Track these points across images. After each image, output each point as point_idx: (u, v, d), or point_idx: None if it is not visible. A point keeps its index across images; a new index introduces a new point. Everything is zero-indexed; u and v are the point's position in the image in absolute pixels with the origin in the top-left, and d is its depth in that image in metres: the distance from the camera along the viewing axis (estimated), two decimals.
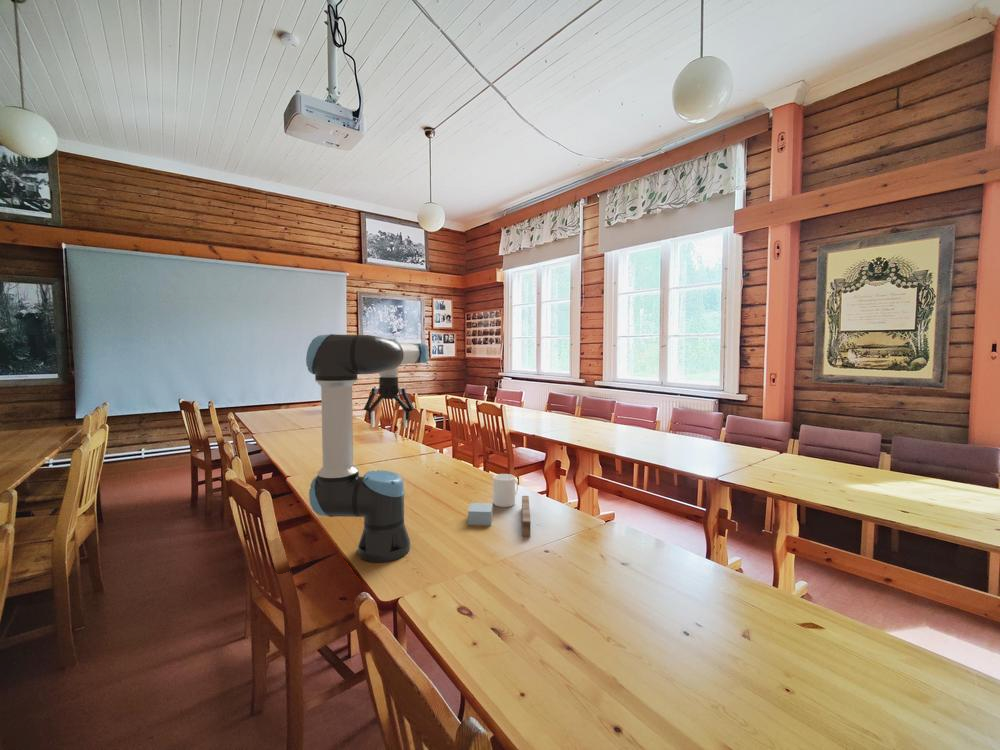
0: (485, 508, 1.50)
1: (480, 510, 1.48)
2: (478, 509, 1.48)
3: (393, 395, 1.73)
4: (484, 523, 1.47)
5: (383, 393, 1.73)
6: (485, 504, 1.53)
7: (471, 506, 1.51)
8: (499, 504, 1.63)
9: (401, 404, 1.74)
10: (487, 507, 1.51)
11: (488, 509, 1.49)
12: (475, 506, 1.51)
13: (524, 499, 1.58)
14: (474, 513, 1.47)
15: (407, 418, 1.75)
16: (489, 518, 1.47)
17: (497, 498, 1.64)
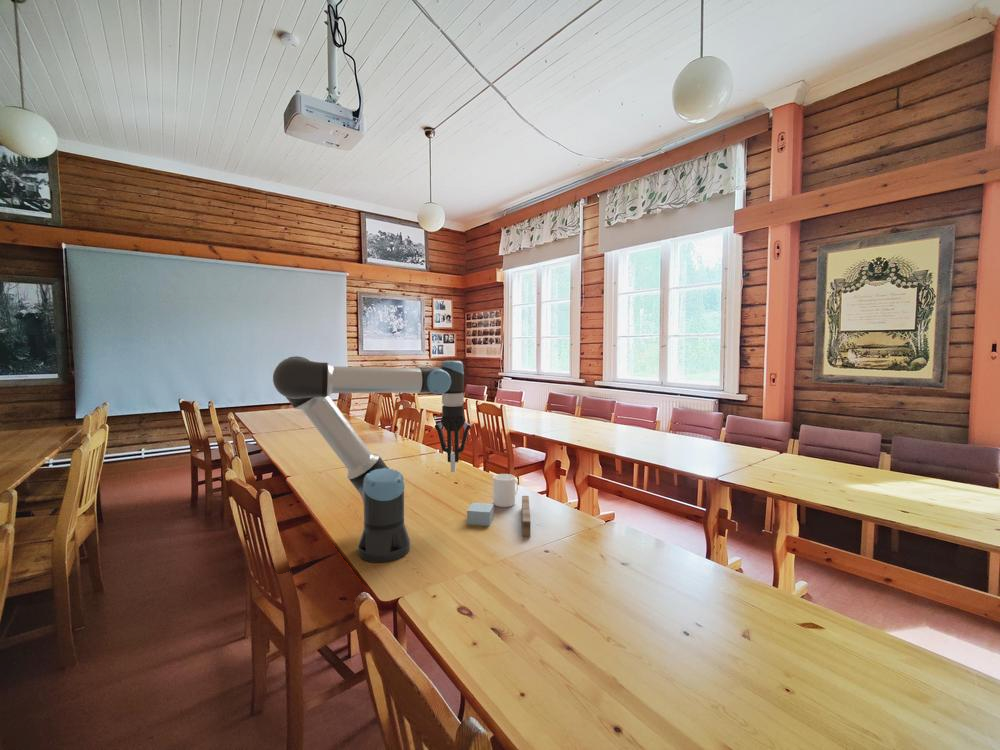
0: (485, 508, 1.49)
1: (479, 510, 1.48)
2: (478, 509, 1.48)
3: (456, 428, 1.48)
4: (483, 523, 1.47)
5: (448, 425, 1.47)
6: (486, 504, 1.53)
7: (471, 506, 1.52)
8: (499, 504, 1.63)
9: (456, 442, 1.48)
10: (487, 507, 1.50)
11: (487, 509, 1.48)
12: (475, 506, 1.51)
13: (524, 499, 1.58)
14: (473, 512, 1.47)
15: (456, 460, 1.49)
16: (488, 518, 1.46)
17: (497, 498, 1.64)
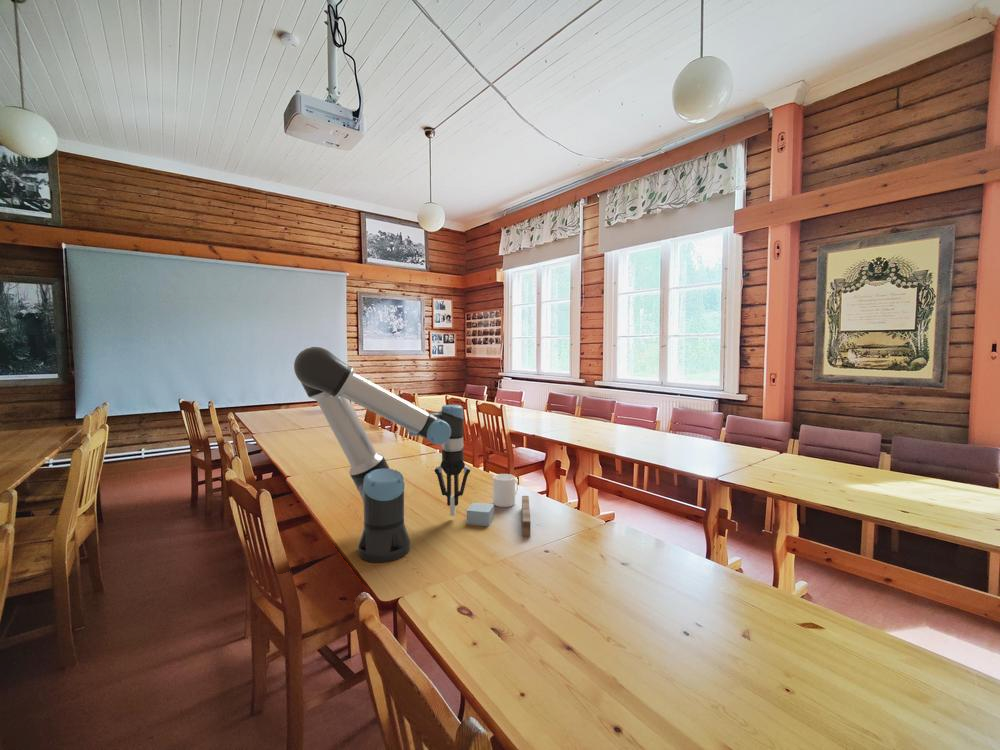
0: (485, 508, 1.49)
1: (479, 510, 1.48)
2: (477, 509, 1.49)
3: (455, 472, 1.48)
4: (482, 523, 1.47)
5: (448, 469, 1.48)
6: (486, 504, 1.53)
7: (472, 505, 1.52)
8: (499, 504, 1.63)
9: (456, 486, 1.49)
10: (487, 507, 1.50)
11: (487, 509, 1.48)
12: (476, 506, 1.51)
13: (524, 499, 1.58)
14: (472, 512, 1.47)
15: (456, 504, 1.50)
16: (487, 518, 1.46)
17: (497, 498, 1.64)
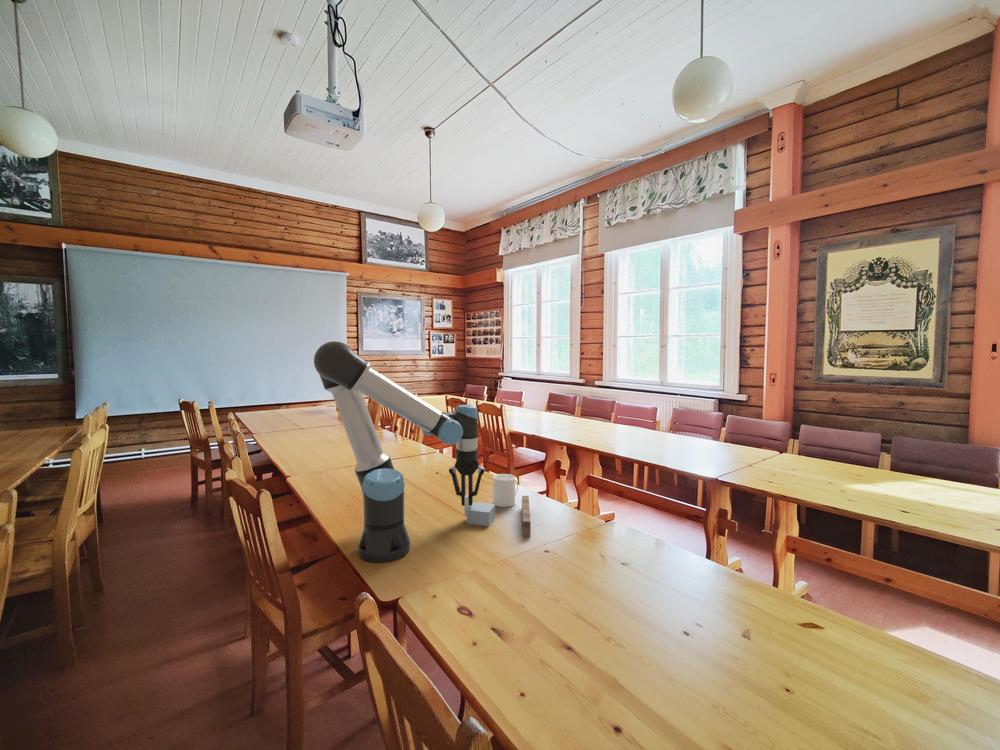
0: (485, 508, 1.49)
1: (479, 509, 1.48)
2: (478, 509, 1.49)
3: (470, 473, 1.48)
4: (482, 523, 1.47)
5: (462, 470, 1.48)
6: (487, 504, 1.53)
7: (472, 505, 1.52)
8: (499, 504, 1.63)
9: (470, 486, 1.49)
10: (487, 507, 1.50)
11: (487, 509, 1.48)
12: (476, 506, 1.51)
13: (524, 499, 1.58)
14: (472, 512, 1.47)
15: (470, 504, 1.50)
16: (487, 518, 1.46)
17: (497, 498, 1.64)
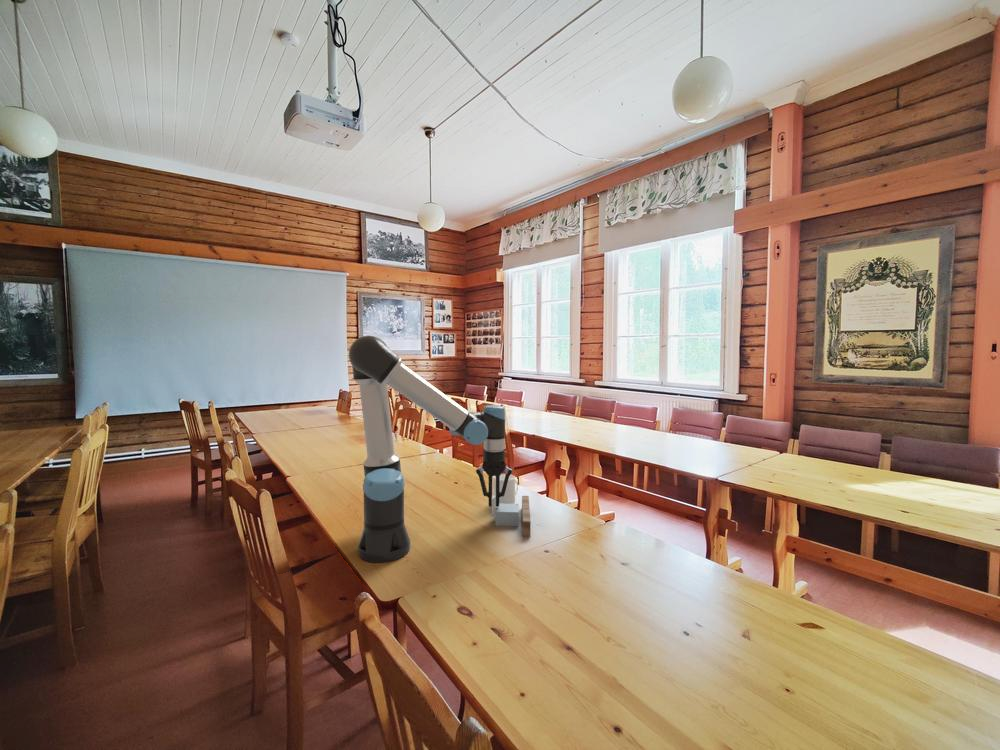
0: (512, 508, 1.49)
1: (507, 510, 1.48)
2: (505, 510, 1.48)
3: (497, 473, 1.48)
4: (511, 523, 1.47)
5: (490, 470, 1.48)
6: (511, 504, 1.53)
7: None
8: None
9: (497, 486, 1.49)
10: (513, 507, 1.50)
11: (515, 509, 1.49)
12: (502, 507, 1.51)
13: (524, 499, 1.58)
14: (501, 513, 1.46)
15: (497, 504, 1.50)
16: (516, 518, 1.46)
17: None
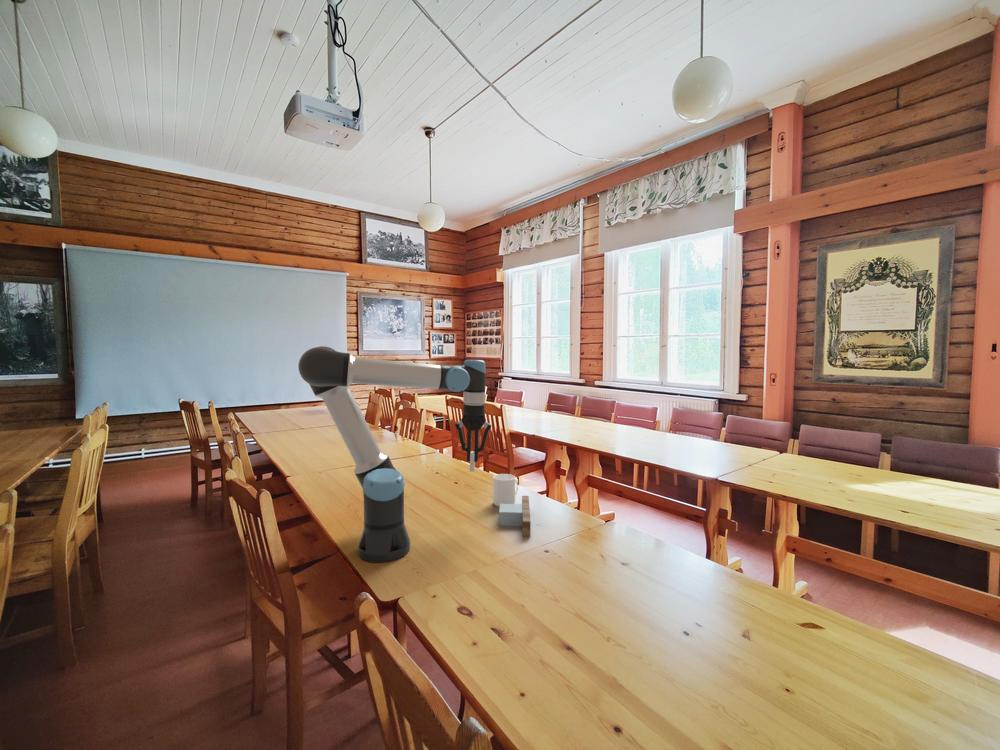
0: (516, 509, 1.49)
1: (511, 510, 1.47)
2: (509, 510, 1.48)
3: (476, 427, 1.47)
4: (515, 524, 1.46)
5: (469, 424, 1.47)
6: (515, 505, 1.53)
7: (501, 507, 1.51)
8: (499, 504, 1.63)
9: (476, 441, 1.48)
10: (517, 508, 1.50)
11: (519, 510, 1.48)
12: (505, 507, 1.51)
13: (524, 499, 1.58)
14: (505, 514, 1.46)
15: (476, 459, 1.49)
16: (520, 519, 1.46)
17: (497, 498, 1.64)
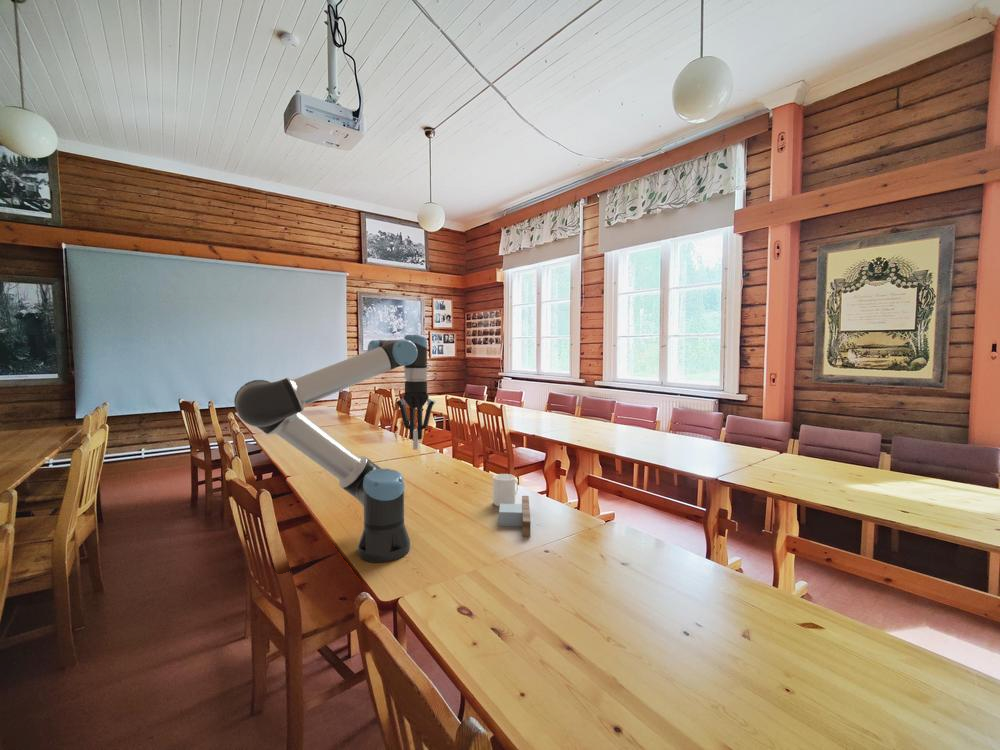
0: (516, 509, 1.49)
1: (511, 510, 1.47)
2: (509, 510, 1.48)
3: (418, 404, 1.43)
4: (515, 524, 1.46)
5: (411, 401, 1.43)
6: (515, 505, 1.53)
7: (501, 507, 1.51)
8: (499, 504, 1.63)
9: (419, 418, 1.44)
10: (517, 508, 1.50)
11: (518, 510, 1.48)
12: (505, 507, 1.51)
13: (524, 499, 1.58)
14: (505, 514, 1.46)
15: (419, 437, 1.45)
16: (520, 519, 1.46)
17: (497, 498, 1.64)
